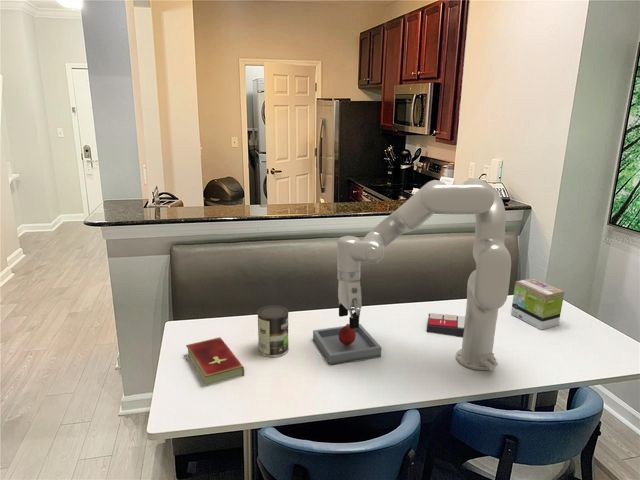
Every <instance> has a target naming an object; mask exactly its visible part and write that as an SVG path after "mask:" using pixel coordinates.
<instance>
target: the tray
mask: <svg viewBox="0 0 640 480" xmlns="http://www.w3.org/2000/svg"><path fill="white" fill-rule="evenodd" d="M345 326H346V325H343V326H342V325H341V326H336V327H335V326H334V327H328V328H322V329H321V328H320V329H315V330H312V340H313V342H314V343H315V345H316V346H317V348H318V349H319V351H320V353H321V354H322V355H323V357H324V358H325V360H326V362H327V363H328V365H329V366H334V365H340V364H345V363H346V364H347V363H354V362H359V361H364V360H371V359H376V358H381V357H382V346H381V345H380V344H379V343H378V342H377V340H375V338H373V336H372V335H371V334H370V333H369V332H368V331H367V329H365V327H364V326H363V325H362V324H361V323H359V328H354V329H353V330H354V331H355V334H356V337H355V340H354V342H353V343H351V344H350V345H348V346H346V345H344V344H342V343H341V342H340V340H339V336H338V335H339V331H340V330H341V329H342V328H343V327H345Z"/></svg>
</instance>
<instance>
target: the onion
mask: <svg viewBox="0 0 640 480" xmlns="http://www.w3.org/2000/svg"><path fill="white" fill-rule="evenodd" d="M344 326H345V327H343V328H342V329H341V330H340V331H339V335H338V336H339V340H340V342H341V343H342V344H344V345H346V346H348V345H350V344H351V343H353V342H354V340H355V337H356V334H355V331H354V330H353V329H350V328H349V323H346V324H345V325H344Z"/></svg>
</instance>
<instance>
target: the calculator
mask: <svg viewBox="0 0 640 480" xmlns="http://www.w3.org/2000/svg"><path fill="white" fill-rule="evenodd" d="M427 318H428V319H427V324H426V332H427V333H431V334H437V335H444V336H445V335H446V336H455V337H460V338H463V332H464V323H465V315H464V316H463V315H457V314H446V313H444V314H443V313H436V312H435V313H433V312H430V313H429V314H428V317H427Z"/></svg>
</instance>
